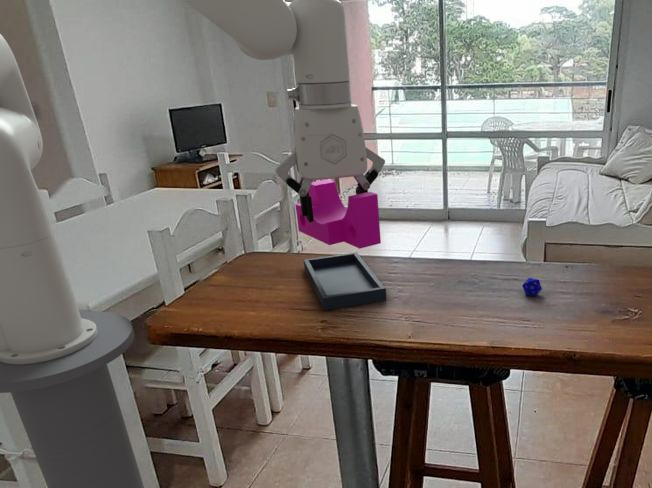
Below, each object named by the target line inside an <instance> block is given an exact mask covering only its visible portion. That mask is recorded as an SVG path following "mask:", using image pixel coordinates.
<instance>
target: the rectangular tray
mask: <svg viewBox="0 0 652 488" xmlns="http://www.w3.org/2000/svg"><path fill="white" fill-rule="evenodd" d="M303 268H304V272H305V274H306V276H307V278H308V280H309V283H310V284H311V286H312V288H313V291H314V293H315V294H316V296H317V298H318V301H319V302H320V305H321V307H322V309H323V311H330V310H331V311H332V310H337V309H342V308H348V307H355V306H360V305H366V304H372V303H373V304H374V303H378V302H384V301H387V288H386V286H384V284H383V283H382V282H381V280H380V279H379V278H378V277H377V275H376V274H375V273H374V271H372V269H371V268H370V267H369V266H368V264H367V263H366V261H364V259H363V258H362V257H361V256H360V254H359V253H358V252H349V253H341V254H335V255H328V256H320V257H314V258H305V259H303Z"/></svg>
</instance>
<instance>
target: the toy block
mask: <svg viewBox="0 0 652 488" xmlns="http://www.w3.org/2000/svg"><path fill="white" fill-rule="evenodd" d="M336 182H337V181H334V180H332V179H324V180H315V181H313V182H312V184H311V186H310V188H309V195H310V196H311V200H312V209H313V218H314V221H313V222H309V221H308V220H307V218H306V216H302V211H301V203H295V204H294V205H295V212H296V213H295V214H296V220H297V228H298V232H300V233H302V234H304V235H306V236H309V237H311V238H313V239H315V240H317V241H319V242H322V243H323V244H326V245H328V246H332V245H338V244H340V243H346V244H348V245H350V246H353V247H355V248H357V249H360V250H361V249H364V248H368V247H372V246H375V245H379V244H381V242H382V239H381V228H380V227H381V226H380V224H381V223H380V213H379V210H380V209H379V198H378V197H379V196H378V193H375V192H371V191H368V192H367V193H362V194H357V195H356V194H353V195H348V196H347V208H346V206H345V205H344V203H343V201H342V199H341V197H340V194H339V192H338V188H337V183H336Z"/></svg>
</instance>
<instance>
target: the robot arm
mask: <svg viewBox="0 0 652 488" xmlns="http://www.w3.org/2000/svg"><path fill="white" fill-rule="evenodd" d="M181 1H182V3H184V4H187V5H188V6H189V7H191V8H192V9H193V10H194V11H196V12H197V13H199V14H200V15H201V16H203V17H204V18H206V19H207V20H208V21H210V22H211V23H212V24H214V25H215V26H216V27H217V28H219V29H220V30H221V31H222V32H224V33H225V34H226V35H228V36H229V37H231V38H232V41H233V43H234V44H235V46H236V47H237V48H238V50H239V51H240V52H242V53H243V54H245V55H246V56H248V57H249V58H251V59H254V60H255V59H256V60H258V61H259V60H262V61H267V60H268V61H269V60H276V59H279V58H281V57H285V56H286V57H287V56H292V58H293V66H294V74H295V86H294V87H292V88H290V89H286V97H287V100H288V101H289V100H293V101H296V102H297V104H298V106H297V107H294V113H293V115H294V116H293V142H294V151H293V152H292V153H290V154H289V155H288V156H287V157H286V158H285V159H284V160H283V161H282V162H281V163H280V164H279V165H277V166H276V167H275V169H274V171H275V173H276V174H277V176H278V177H280V179H281V180H282V181H283V182H284V183H285V184H286V185H287V186H288V187H289V188H290V189H292V191H294V192H295V193H297V194H298V195H299V202H300V203H301V211H302V216H306V218H307V220H308V221H309V222H313V221H314V218H313V209H312V200H311V196H310V195H309V188H310V186H311V184H312V182H314V181H321V180H327V179H328V180H333V179H343V178H344V179H345V178H353V179H354V180H355V181H356V183H357V186H356V187H355V195H357V194H362V193H367V192H369V189H370V188H371V185H372V184H373V183H374V181H376V179H377V178H378V177H379V173H380V172H381V171H382V169H383V167H384V165H385V164H386V159H384V158H383V157H381V156H380V155H378V154H377V153H376V152H374V151H372V150H371V149H369V148H368V147H367V146H366V141H365V134H364V128H363V122H362V117H361V113H360V110H359V106H358V104H355V103H354V104H353V103H352V91H351V81H350V80H351V78H350V66H349V65H350V64H349V51H348V40H347V39H348V38H347V28H346V27H347V26H346V16H345V15H346V14H345V8H344V5H343V3H342V2H341V1H340V0H292V1H285V0H181ZM20 70H21V69H20V67H19V64H18V62H17V59H16V58H15V55H14V52H13V51H12V48H11V47H10V45H9V43H8V42H7V40H6V39H5V38H4V36H3V35H2V34H1V33H0V362H3V363H7V364H14V365H24V364H34V363H40V362H45V361H49V360H54V359H57V358H60V357H63V356H66V355H69V354H71V353H74V352H76V351H78V350H80V349H82V348H83V347H85V346H87V345H88V344H89V343H91V342H92V341H93V340H94V339H95V338H96V336H97V334H98V330H97V327H96V324H95V323H94V322H92V321H90V320H87V319H82V318H81V316H80V313H79V312H80V310H79V307H78V304H77V301H76V297H75V294H74V290H73V287H72V284H71V281H70V278H69V275H68V271H67V269H66V265H65V262H64V259H63V255H62V253H61V249H60V246H59V242H58V240H57V239H58V238H57V236H56V233H55V231H54V226H53V224H52V220H51V217H50V215H49V212H48V209H47V207H46V204H45V201H44V199H43V196H42V194H41V192H40V190H39V188H38V185H37V184H36V181H35V179H34V175H33V173H32V170H33V169H34V168H35V167H36V166H37V165H38V164H39V162H40V160H41V157H42V155H43V150H44V141H43V136H42V132H41V129H40V125H39V122H38V120H37V117H36V114H35V111H34V108H33V105H32V102H31V100H30V97H29V94H28V90H27V88H26V86H25V82H24V80H23V76H22V73H21V71H20ZM368 160H370V162H371V166H370V168H369V169H368ZM294 166H295V167H296V171H297V172H298V174H299V175H300V176H301V177H300V180H299V181H297V180H296V179H295V178H294V177H292V176H291V174H290V173H289V171H290V170H291V169H292V168H293V167H294Z"/></svg>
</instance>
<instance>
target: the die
mask: <svg viewBox="0 0 652 488" xmlns="http://www.w3.org/2000/svg"><path fill="white" fill-rule="evenodd" d="M521 286H522V288H523V291H524V294H525V295H527V296H532V297H537V295H538V294H539V293H540V292H541V291H542V290H543V287H542V285H541V282H540V279H538V278H533V277H528V278H527V279H526V280H525V281H524V283H522V285H521Z"/></svg>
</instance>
